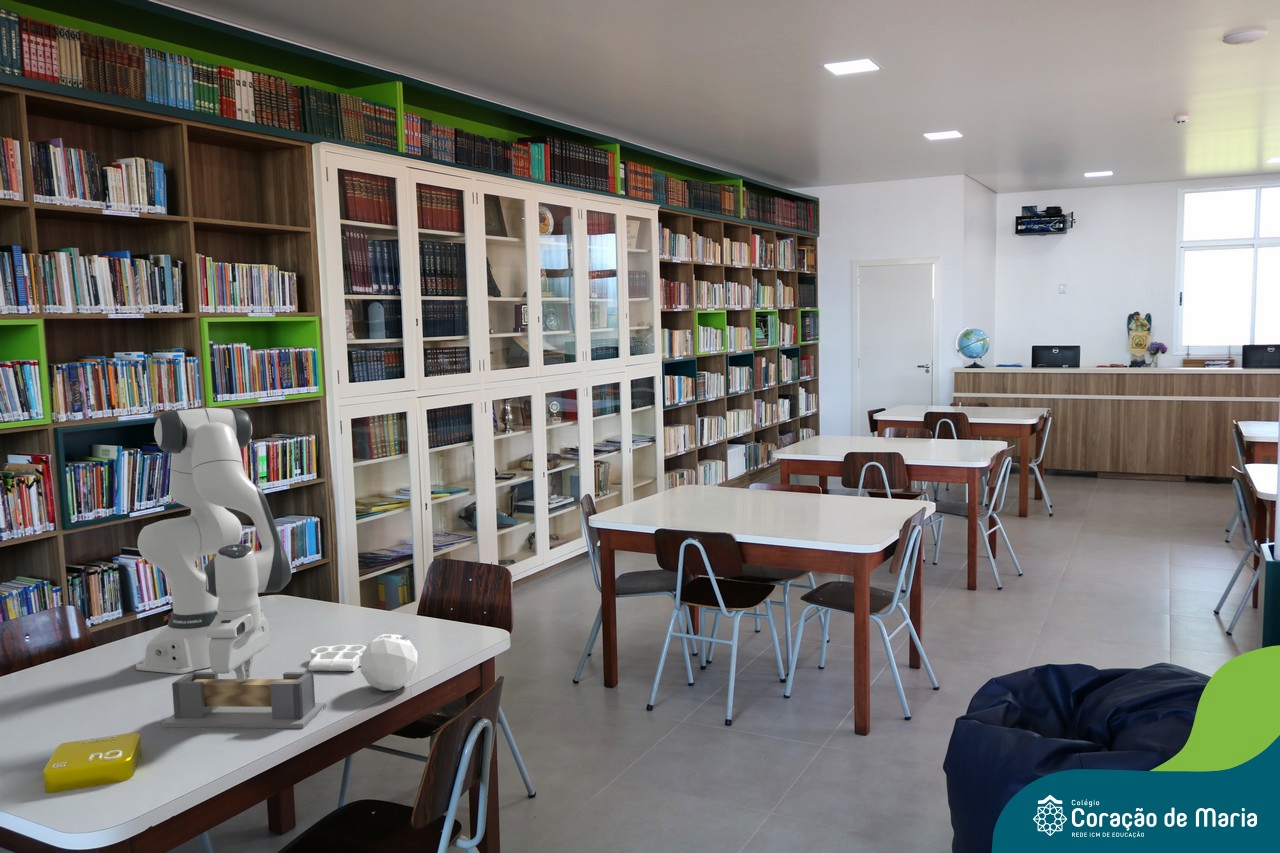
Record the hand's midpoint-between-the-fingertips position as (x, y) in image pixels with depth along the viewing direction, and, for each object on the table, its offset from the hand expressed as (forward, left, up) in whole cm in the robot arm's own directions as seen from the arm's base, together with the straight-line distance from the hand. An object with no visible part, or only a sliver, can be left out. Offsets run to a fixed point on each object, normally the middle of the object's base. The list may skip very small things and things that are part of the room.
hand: (243, 679), depth 213 cm
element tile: (-17, -27, -9) cm, 33 cm away
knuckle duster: (+8, +35, -9) cm, 37 cm away
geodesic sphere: (+27, +18, -9) cm, 34 cm away
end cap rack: (0, 0, -9) cm, 9 cm away
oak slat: (0, 0, -6) cm, 6 cm away
